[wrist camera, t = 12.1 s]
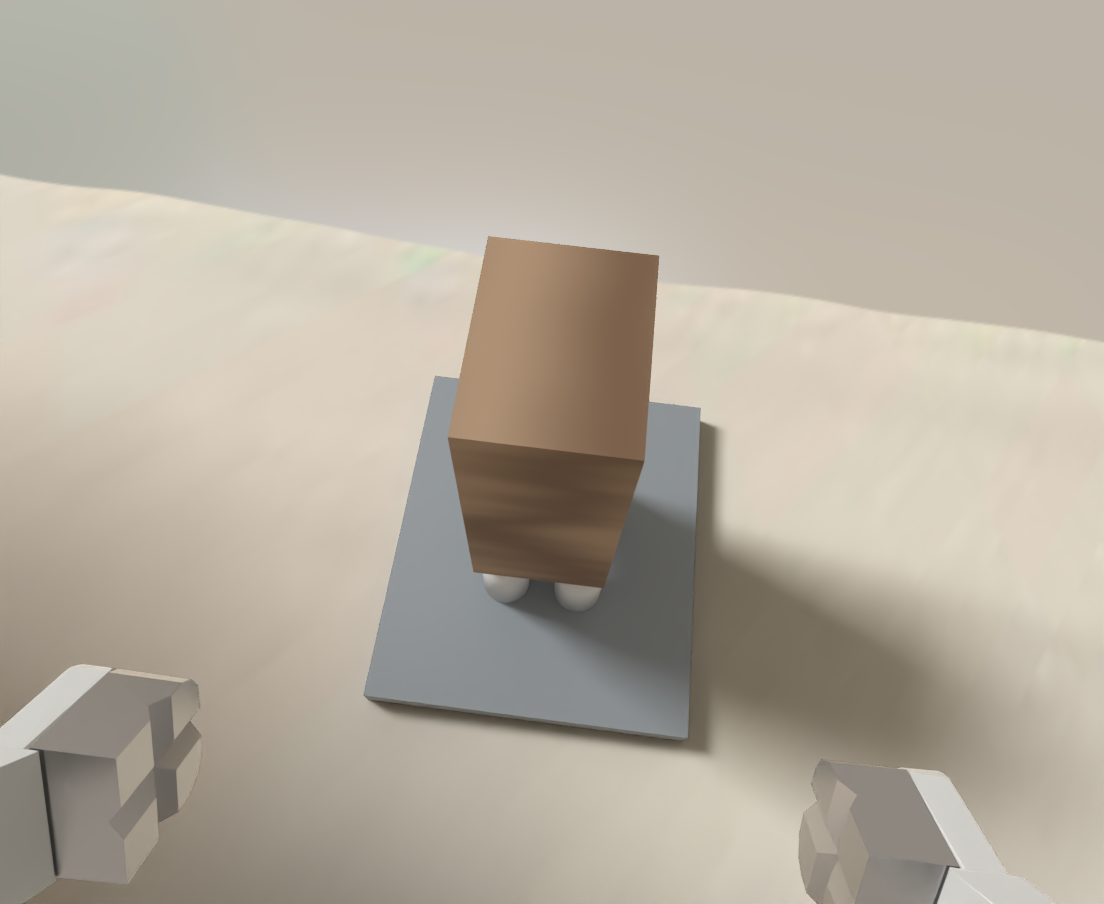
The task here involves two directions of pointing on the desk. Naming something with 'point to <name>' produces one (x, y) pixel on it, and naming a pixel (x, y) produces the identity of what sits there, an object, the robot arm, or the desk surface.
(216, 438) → the desk surface
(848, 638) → the desk surface
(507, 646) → the stand
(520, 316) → the block
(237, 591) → the desk surface
